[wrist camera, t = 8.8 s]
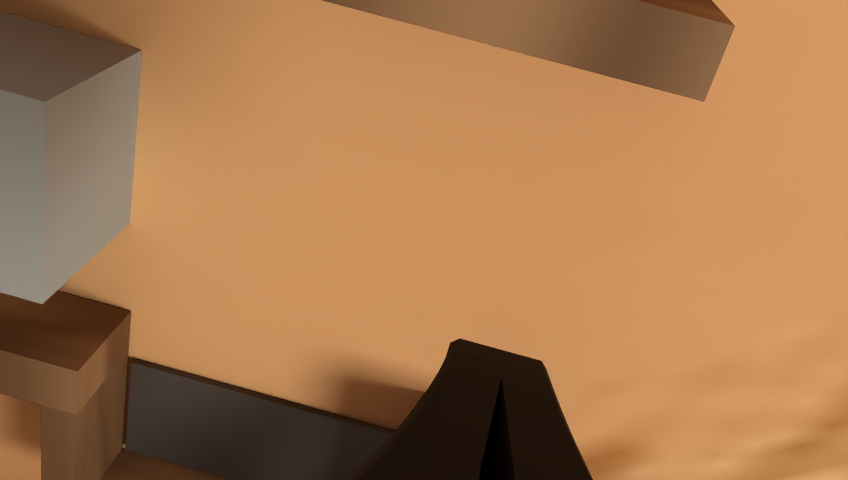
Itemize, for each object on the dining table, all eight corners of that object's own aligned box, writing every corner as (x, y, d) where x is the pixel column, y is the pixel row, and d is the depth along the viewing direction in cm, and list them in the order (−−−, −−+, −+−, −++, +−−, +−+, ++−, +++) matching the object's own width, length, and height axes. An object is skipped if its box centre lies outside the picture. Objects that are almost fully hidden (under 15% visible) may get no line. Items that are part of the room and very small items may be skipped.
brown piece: (712, -15, 18) (747, 19, 14) (484, 573, 27) (475, 674, 23) (-43, -213, 18) (-171, -222, 15) (-15, 433, 27) (-91, 513, 24)
